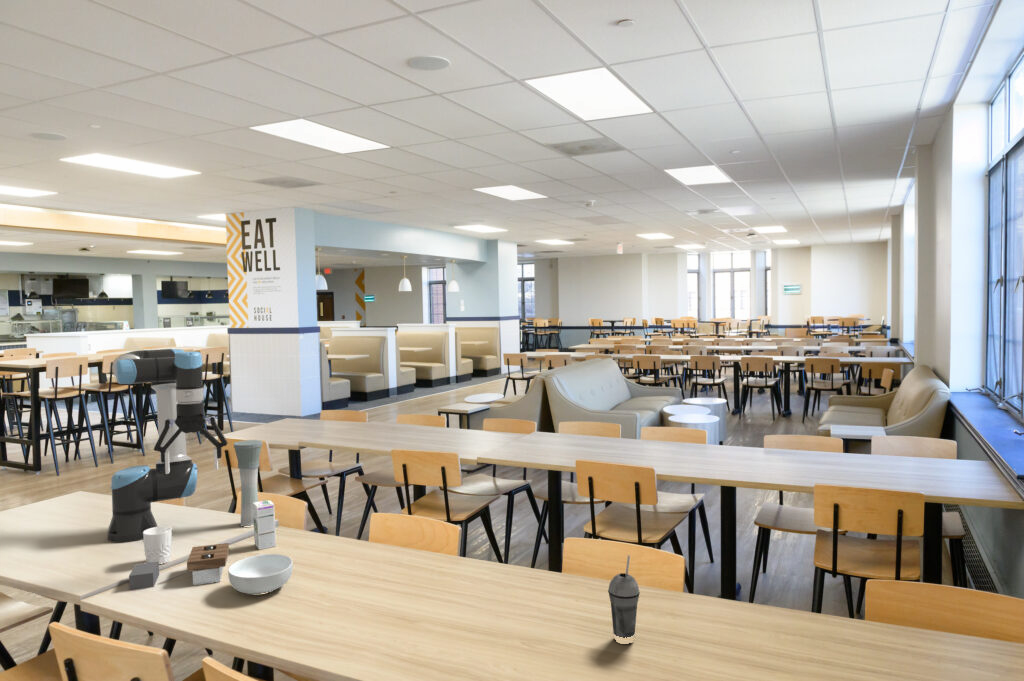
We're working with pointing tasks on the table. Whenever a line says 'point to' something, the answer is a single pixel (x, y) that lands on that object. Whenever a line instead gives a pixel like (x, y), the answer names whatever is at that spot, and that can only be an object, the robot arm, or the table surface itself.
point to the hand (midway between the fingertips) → (192, 471)
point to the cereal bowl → (260, 573)
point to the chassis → (207, 573)
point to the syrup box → (264, 524)
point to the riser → (144, 575)
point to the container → (248, 477)
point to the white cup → (158, 544)
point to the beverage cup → (624, 603)
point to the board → (216, 560)
